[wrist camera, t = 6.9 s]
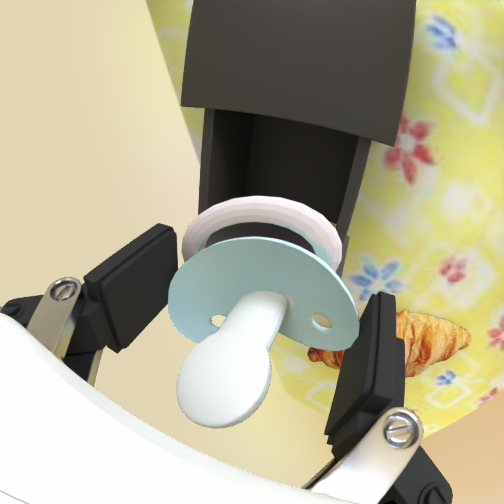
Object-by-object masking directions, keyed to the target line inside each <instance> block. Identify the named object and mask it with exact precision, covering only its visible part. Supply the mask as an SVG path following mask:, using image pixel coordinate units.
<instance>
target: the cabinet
mask: <svg viewBox="0 0 504 504" xmlns="http://www.w3.org/2000/svg"><path fill="white" fill-rule="evenodd" d="M415 10H416V0H194V1H193V7H192V13H191V20H190V26H189V33H188V40H187V48H186V56H185V65H184V74H183V84H182V95H181V106H182V107H196V108H209V109H219V110H228V111H236V112H244V113H251V114H258V115H265V116H271V117H276V118H282V119H287V120H293V121H298V122H303V123H307V124H312V125H316V126H321V127H325V128H329V129H333V130H337V131H341V132H345V133H349V134H352V135H356V136H360V137H363V138H366V139H370V140H373V141H376V142H380V143H383V144H386V145H389V146H392V147H394V146H395V142H396V138H397V134H398V129H399V125H400V120H401V115H402V110H403V105H404V100H405V94H406V88H407V82H408V76H409V69H410V62H411V54H412V46H413V36H414V25H415Z"/></svg>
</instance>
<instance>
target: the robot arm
mask: <svg viewBox="0 0 504 504" xmlns="http://www.w3.org/2000/svg"><path fill="white" fill-rule="evenodd" d="M177 271H178V259H177V235H176V233H175V232H174V230H173V228H172V227H170V226H167V225H164V224H160V223H158V224H156V225H155V226H153V227H152V228H151V229H149V230H147V231H146V232H145V233H143V234H142V235H140V236H139V237H137V238H136V239H134V240H133V241H131V242H130V243H129V244H127V245H126V246H124V247H123V248H121V249H120V250H119V251H117V252H116V253H115V254H113V255H112V256H110V257H109V258H108V259H106V260H105V261H104V262H102V263H101V264H100V265H98V266H97V267H96V268H94V269H93V270H92V271H90V272H89V273H88V274H87V275H85V276H84V277H83V278H84V281H85V283H84V284H82V285H81V282H80V281H79V280H77V279H76V278H73V277H64V278H61V279H58V280H56V281H55V282H53V283H52V284H51V285H50V286H49V287H48V289H47V291H46V292H45V294H44V295H38V296H30V297H23V298H17V299H13V300H10V301H8V302H7V303H6V304H5V305H4V306H3V307H0V504H451V503H452V497H453V494H452V489H451V487H450V485H449V483H448V482H447V480H446V479H445V478H444V476H443V475H442V474H441V472H440V471H439V470H438V468H437V467H436V466H435V464H434V463H433V462H432V460H431V459H430V458H429V456H428V455H427V454H426V452H425V451H424V450H423V448H422V447H421V446H420V443H421V441H422V438H423V426H422V422H421V421H420V419H419V417H418V416H417V415H416V414H415V413H414V412H413V411H411V410H409V409H407V408H404V390H405V341H404V340H403V339H401V338H398V337H396V300H395V296H394V295H391V294H387V293H384V292H381V291H380V292H379V293H378V294H377V295H376V294H372V295H371V297H370V299H369V301H368V304H367V306H366V308H365V310H364V312H363V314H362V316H361V318H360V320H359V321H360V326H359V335H358V337H357V338H356V340H355V341H354V343H353V344H352V346H351V347H350V348H347V349H345V351H344V354H343V359H342V364H341V368H340V373H339V377H338V382H337V386H336V390H335V394H334V398H333V402H332V406H331V410H330V413H329V417H328V421H327V425H326V428H325V432H324V434H325V435H328V436H329V437H328V441H327V444H329V445H333V447H332V450H331V452H332V454H333V455H334V458H333V459H332V460H331V461H330V462H329V463H328V464H327V465H325V467H323V468H322V469H321V470H320V471H319V472H318V473H317V474H316V475H315V476H314V477H312V478H311V479H310V480H309V481H308V482H307V483H306V484H304V485H303V486H302V487H301V488H297V487H293V486H290V485H287V484H283V483H280V482H277V481H274V480H271V479H268V478H265V477H262V476H259V475H256V474H253V473H250V472H248V471H245V470H242V469H240V468H237V467H234V466H232V465H229V464H227V463H224V462H222V461H220V460H217V459H215V458H213V457H210V456H208V455H206V454H204V453H202V452H200V451H197V450H195V449H193V448H191V447H189V446H187V445H185V444H183V443H181V442H179V441H177V440H175V439H173V438H172V437H170V436H168V435H166V434H164V433H163V432H161V431H159V430H157V429H156V428H154V427H152V426H150V425H149V424H147V423H145V422H144V421H142V420H140V419H139V418H137V417H135V416H134V415H132V414H131V413H129V412H128V411H126V410H125V409H123V408H122V407H120V406H119V405H117V404H116V403H114V402H113V401H111V400H110V399H109V398H107V397H106V396H104V395H103V394H101V393H100V392H99V391H98V390H96V389H95V388H94V383H95V379H96V375H97V371H98V367H99V363H100V359H101V356H102V352H103V348H104V347H105V346H106V345H107V347H108V348H110V349H111V350H113V351H114V352H116V353H119V352H120V351H121V350H122V348H123V349H124V348H127V347H128V346H129V345H130V344H131V343H132V342H133V340H134V339H135V338H136V337H137V336H138V335H139V334H140V333H141V332H142V331H143V330H144V329H145V327H146V326H147V325H148V324H149V323H150V322H151V321H152V320H153V319H154V318H155V317H156V316H157V315H158V313H159V312H160V311H161V310H162V309H163V308H164V307H165V306H166V305H167V304H168V295H169V287H170V283H171V281H172V279H173V277H174V275H175V273H176V272H177Z"/></svg>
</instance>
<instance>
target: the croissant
mask: <svg viewBox="0 0 504 504" xmlns="http://www.w3.org/2000/svg"><path fill="white" fill-rule="evenodd" d="M396 337H398V338H401V339H403V340H404V341H405V378H406V377H414V376H415V375H418V374H420V373H421V372H423V371H424V370H425V369H426V368H428V366H429V365H433V364H434V363H436V362H439V361H445V360H447V359H448V358H450V357H451V356H453V355H454V354H455V353H456V352H457V351H458V350H461V349H463V348H465V347H467V346H469V344H470V343H471V336H470V333H469V332H468V331H467V330H466V329H463V328H462V327H458V326H456V325H455V324H453V323H451V322H450V321H447V320H444V319H439V318H436V317H433V316H430V315H423V314H417V313H409V312H408V310H403V311H401V312H399V313H396ZM344 351H345V350H339V351H329V350H323V349H318V348H314V347H311V348H310V349H309V351H308V354H307V355H308V357H309V359H310V360H311V361H313V362H317V361H323V362H324V363H325V364H326V365H327V366H329V367H332V368H334V369H340V368H341V364H342V359H343V354H344Z"/></svg>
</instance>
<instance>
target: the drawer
mask: <svg viewBox="0 0 504 504" xmlns="http://www.w3.org/2000/svg"><path fill="white" fill-rule="evenodd" d="M370 145H371V140H370V139H366V138H363V137H360V136H356V135H352V134H349V133H345V132H341V131H337V130H333V129H329V128H325V127H321V126H316V125H312V124H307V123H303V122H298V121H293V120H287V119H282V118H276V117H271V116H265V115H258V114H251V113H244V112H236V111H228V110H219V109H209V108H205V114H204V126H203V138H202V152H201V168H200V185H199V208H198V215H199V214H201V213H202V212H204V211H206V210H207V209H209V208H210V207H212V206H214V205H216V204H219V203H222V202H225V201H228V200H231V199H234V198H242V197H250V196H268V197H281V198H284V199H288V200H291V201H295V202H298V203H302V204H304V205H306V206H308V207H309V208H311V209H313V210H315V211H316V212H318V213H320V214H322V215H323V216H324V217H325V218H326V219H327V220H328V221H329V222H332V223H335V224H337V225H336V231H337V233H338V236H339V238H340V240H341V243H342V260H341V262H340V264H339V266H338V268H337V270H336V272H335V273H336V274H337V275H338V276H339V277H340V279H341V276H342V271H343V266H344V262H345V257H346V252H347V246H348V241H349V236H346V234H347V231H348V227H349V224H350V221H351V217H352V214H353V211H354V207H355V203H356V200H357V196H358V193H359V189H360V185H361V181H362V178H363V174H364V170H365V166H366V162H367V157H368V153H369V149H370ZM241 237H267V238H274V239H279V240H283V241H286V242H289V243H292V244H295V245H297V246H300V247H302V248H304V249H306V250H307V251H309V252H311V253H313V254H314V255H316V253H315V251H314V249H313V247H312V245H311V244H310V243H309V242H308V241H307V240H306V239H305V238H304V237H303V236H302V235H300V234H298V233H296V232H294V231H292V230H290V229H289V228H286V227H282V226H279V225H275V224H271V223H262V222H247V223H237V224H234V225H230V226H226V227H223V228H221V229H219V230H217V231H215V232H214V233H212V234H211V235H210V236H209V238H208V240H207V241H206V244H205V248H207V247H209V246H212V245H214V244H216V243H218V242H222V241H225V240H229V239H234V238H241Z"/></svg>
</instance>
